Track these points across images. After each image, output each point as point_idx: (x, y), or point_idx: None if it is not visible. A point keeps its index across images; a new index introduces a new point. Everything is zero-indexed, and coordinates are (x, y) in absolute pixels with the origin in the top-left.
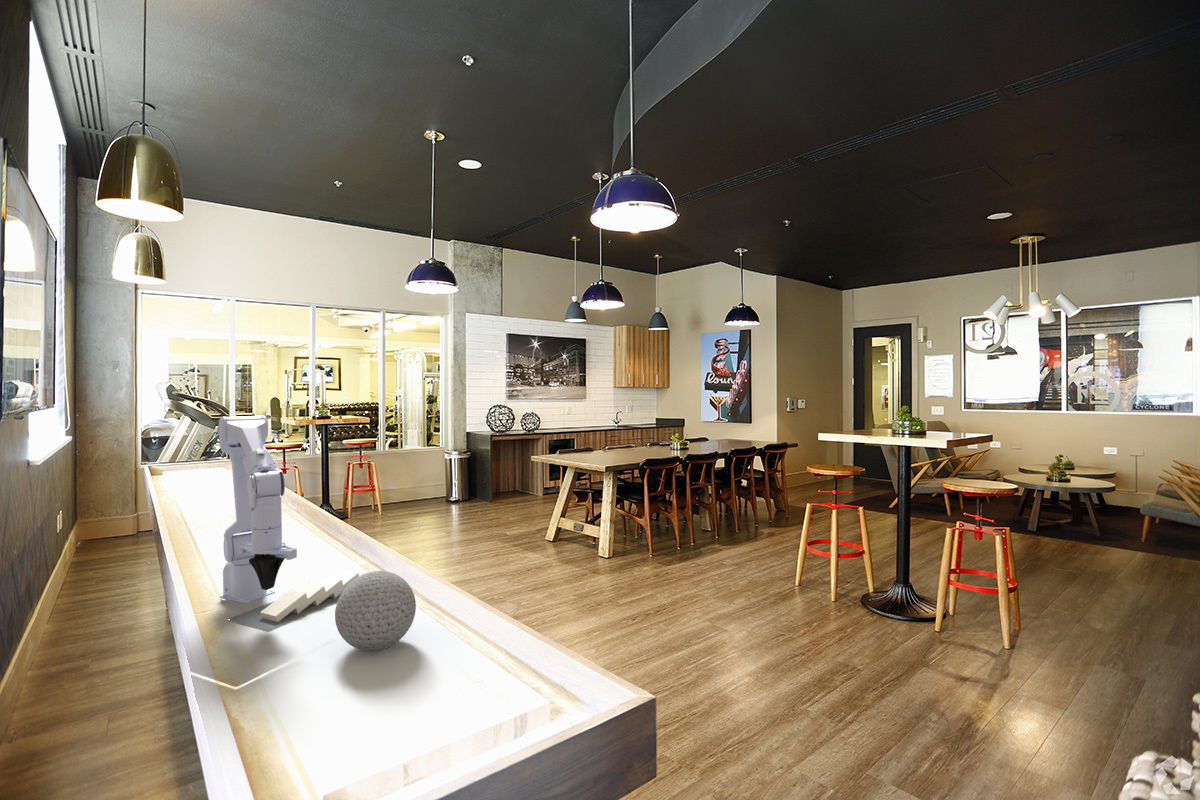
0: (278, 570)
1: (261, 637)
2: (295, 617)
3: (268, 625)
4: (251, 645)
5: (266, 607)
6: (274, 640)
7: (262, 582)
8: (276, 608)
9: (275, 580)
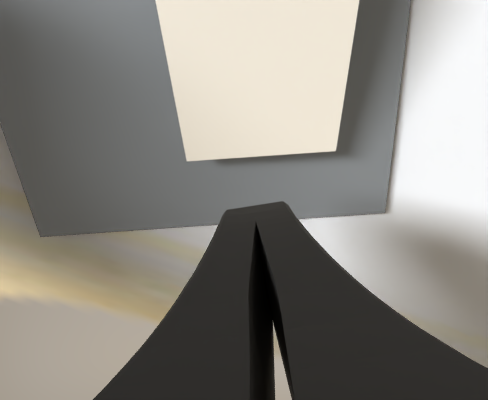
0: (373, 295)
1: (384, 241)
2: (371, 20)
3: (318, 172)
4: (410, 295)
5: (180, 123)
6: (469, 232)
7: (272, 344)
8: (269, 107)
9: (303, 226)
